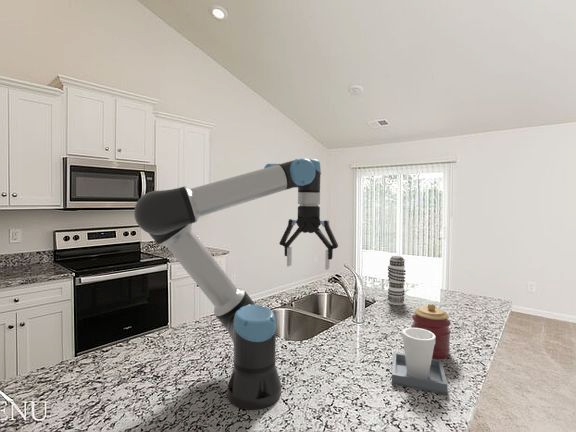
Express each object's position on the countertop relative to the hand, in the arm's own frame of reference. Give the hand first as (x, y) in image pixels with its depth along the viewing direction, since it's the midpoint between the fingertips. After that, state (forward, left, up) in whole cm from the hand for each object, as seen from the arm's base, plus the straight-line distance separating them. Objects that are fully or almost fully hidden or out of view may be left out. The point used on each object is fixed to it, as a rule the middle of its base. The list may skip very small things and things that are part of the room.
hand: (307, 267), depth 111 cm
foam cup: (+1, -36, -31) cm, 48 cm away
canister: (+21, -41, -32) cm, 56 cm away
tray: (+1, -36, -32) cm, 48 cm away
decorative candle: (+76, -28, -32) cm, 87 cm away
